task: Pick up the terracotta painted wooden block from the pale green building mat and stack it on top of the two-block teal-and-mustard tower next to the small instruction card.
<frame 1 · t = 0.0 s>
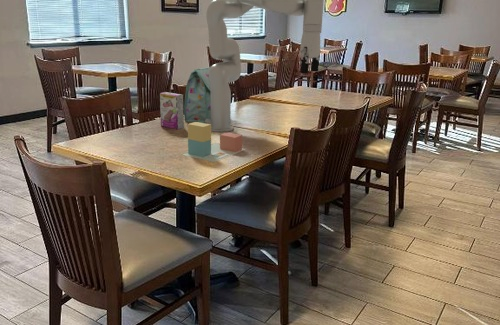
hand: (309, 72, 190), 31 cm above the table, tool pointing down, fingers open, 9 cm apart
lunch bag: (205, 119, 244), on the table
candy bar box: (172, 127, 224), on the table
instruction card: (218, 155, 181), resting on mat
tower base: (199, 153, 182), resting on mat
mat: (214, 152, 185), on the table
brick: (230, 149, 189), resting on mat
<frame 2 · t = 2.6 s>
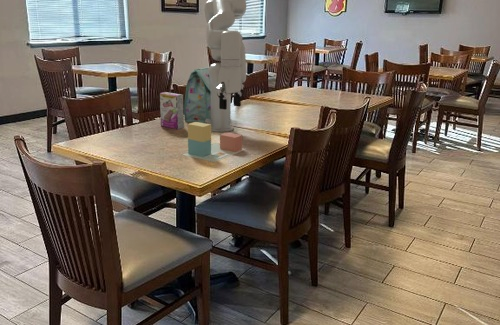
hand: (230, 107, 184), 18 cm above the table, tool pointing down, fingers open, 9 cm apart
nothing on the table moved.
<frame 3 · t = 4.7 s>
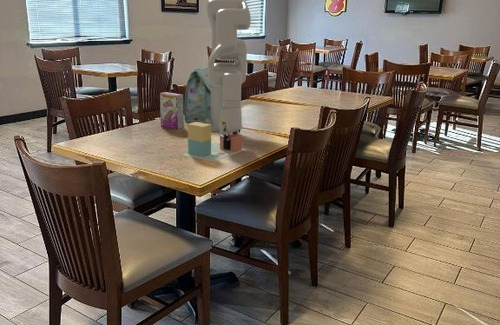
hand: (230, 147, 189), 1 cm above the table, tool pointing down, fingers closed on brick, 5 cm apart
brick: (230, 149, 189), resting on mat, touching gripper
everything else where it was.
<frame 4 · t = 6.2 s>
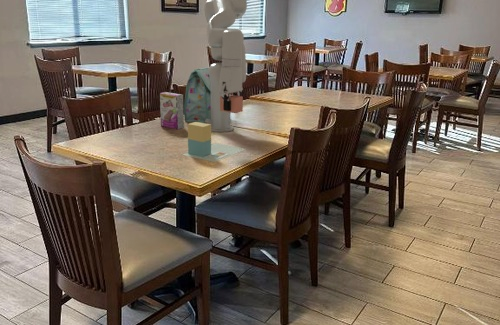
hand: (231, 108, 184), 17 cm above the table, tool pointing down, fingers closed on brick, 5 cm apart
brick: (231, 111, 184), point 16 cm above the table, touching gripper
everything else where it was.
when the fingers open (15 cm above the table, at t = 8.0 s): brick drops 1 cm, resting on tower base.
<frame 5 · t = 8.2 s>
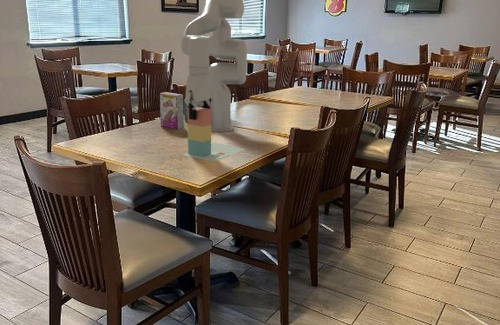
hand: (199, 117, 177), 15 cm above the table, tool pointing down, fingers open, 7 cm apart
tower base: (199, 153, 182), resting on mat, touching brick
brick: (199, 124, 178), point 12 cm above the table, touching tower base
everything else where it was.
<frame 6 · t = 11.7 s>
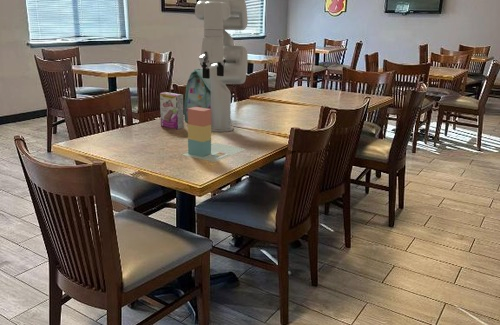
hand: (213, 77, 190), 28 cm above the table, tool pointing down, fingers open, 9 cm apart
nothing on the table moved.
at the end: brick 0.1 cm off-centre on the tower base, point 12.0 cm above the tower base's base; brick tilted 0°; tower base tilted 0° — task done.
